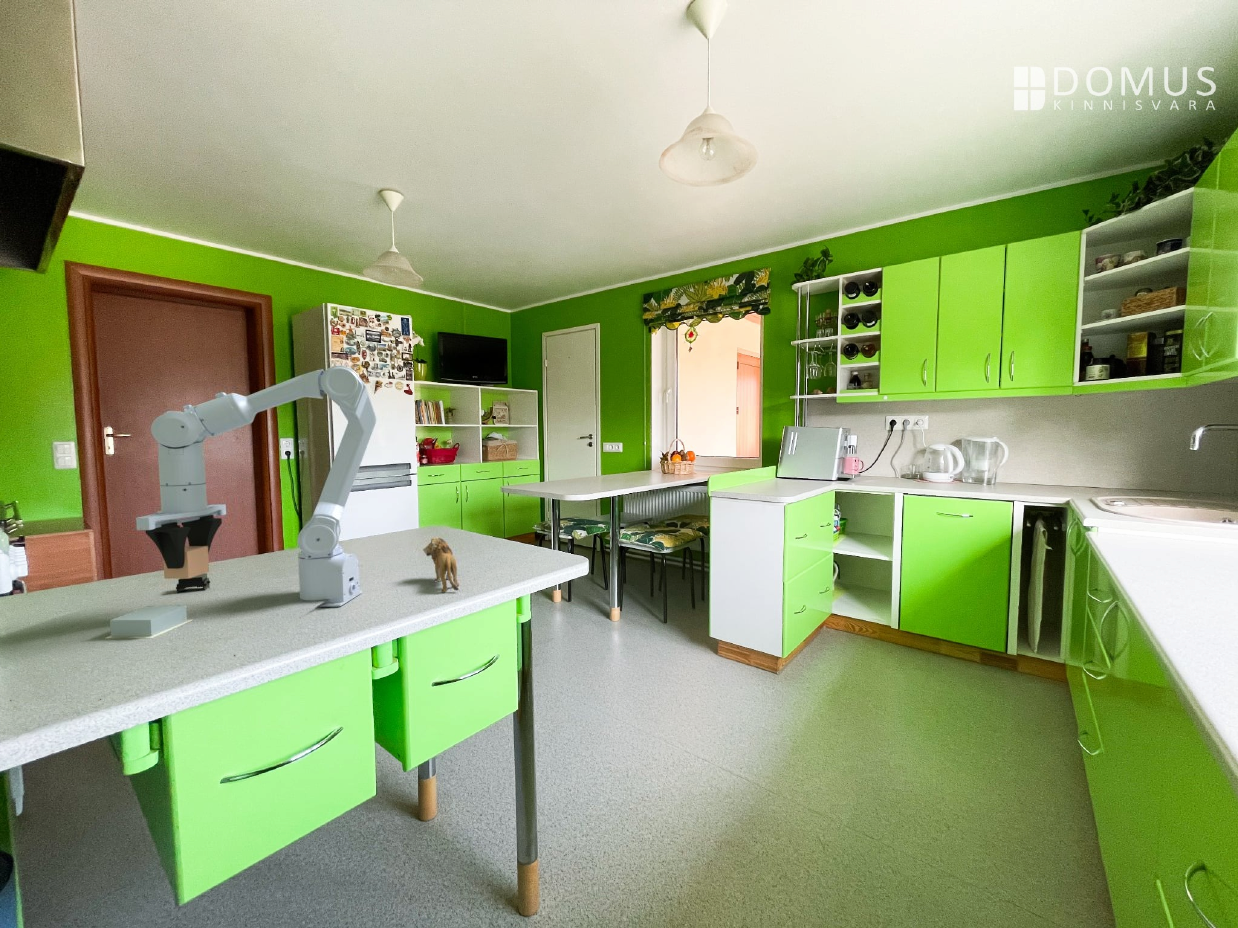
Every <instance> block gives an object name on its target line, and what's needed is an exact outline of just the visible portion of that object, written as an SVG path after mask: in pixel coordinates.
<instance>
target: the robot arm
mask: <svg viewBox="0 0 1238 928" xmlns="http://www.w3.org/2000/svg"><path fill="white" fill-rule="evenodd" d="M368 391H369V390H368V388H367V385H366V383H365V382H364V381H363V380H362V378H361V377H360V376H359V374H358V373H357V372H356V371H355V370H354V369H353V368H351V367H348V366H345V365H333V366H330V367H329V368H327V369H326V370H324V369H322V368H321V369H318V370H317V369H316V370H314V371H311V372H310V371H309V372H307V373H304V374H300V375H298V376H295V377H292V378H291V379H287V380H285V381H282V382H280V383H278V384H274V385H272V386H270V387H267V388H265V389H261V390H259V391H257V392H254V393H252V394H249V395H242V394H239V393H235V392H231V393H228V394H227V393H226V392H223V391H221V392H218V393H216V394H215V395H214V397H215V398H213V399H211V400H208V401H205V402H202V403H199V404H197V405H192V404H187V405H184V406H182V409H183V411H176V410H168V411H165V412H164V413H163V414H161V415H159V416H157V417H156V418H155V419H154V420H153V421H152V423H151V426H150V428H151V429H150V430H151V431H150V433H151V435H152V437H153V438H154V439H155V441H156V442H158V444H157V445H158V447H157V448H158V457H157V459H158V460H157V461H158V474H159V475H158V477H159V490H160V491H159V493H160V507H161V508H160V510H157V511H156V512H155V513H152V514H148V515H144V516H140V517H135V521H136V531H145V534H146V535H147V536H148V537H149V538H150V540H152V542H154V544H155V545H156V547H157V548H158V550H159V552H160V554H161V557H162V558H163V559H164V561H165V564H166V566H167V568H168V569H179V568H183V566H184V559H185V546H186V541H187V540H188V546H208V555H209V553H210V550H211V546H212V543H213V540H214V537H215V535H216V533H217V532H218V530H219V529H220V526H221V525H222V523H223V520H222V517H217V516H226V515H227V506H226V505H227V504H224V503H223V504H215V503H214V504H210V505H208V500H207V481H206V463H205V462H206V461H205V456H204V442H205V441H206V440H207V438H216V437H218V436H220V435H223V434H225V433H229V432H231V431H233V430H237V429H240V428H241V427H245V426H248V425H250V424H252V423H253V422H254V420H255V417H256V415H257V414H258V413H260V412H264V411H266V410H268V409H273V408H275V407H278V406H281V405H284V404H287V403H291V402H294V401H296V400H299V399H303V398H310V399H311V398H313V399H321V400H323V399H324V394H326V395H327V397H328V398H329V399H330V400H331V401H332V402H334V403H335V404H336V405H337V406H338V407H339V409H340V411H341V412H342V414H343V416H344V417H345V419H346V420H347V424H346V427H345V430H344V431H343V435H342V438H341V441H340V443H339V446H338V448H337V451H336V454H335V457H334V459H333V461H332V464H331V467H330V470H329V472H328V475H327V478H326V480H325V483H324V486H323V488H322V490H321V494H320V496H319V499H318V502H317V504H316V506H315V509H314V511H313V513H312V516H311V517H310V518H309V519H308V520H307V521H306V522H305V524H304V525H303V527H302V529H301V530H300V532H299V533H298V535H297V539H296V540H297V546H298V548H299V549H300V551H299V552H298V553H297V557H298V559H297V560H298V562H297V563H298V580H299V581H298V584H299V586H298V587H299V598H300V599H301V600H303V601H320V600H321V601H322V600H325V601H324V602H322V603H320V604H318V605H317V606H316V607H322V608H323V607H328V608H329V607H341V606H344V605H345V604H346V603H348V602H349V601H351V600H353V599H354V598H356V597H357V596H359V595H361V594H363V590H362V589H361V582H360V581H361V580H360V579H361V578H360V576H361V575H360V561H359V558H358V557H357V555H355V554H354V553H346V552H344V547H342V546H341V545H340V543H339V538H340V534H341V525H340V522H341V519H342V515H343V513H344V510H345V507H346V504H347V502H348V499H349V497H350V493H351V491H352V488H353V485H354V483H355V480H356V477H357V475H358V472H359V470H360V467H361V463H362V461H363V458H364V456H365V453H366V451H367V448H368V445H369V443H370V440H371V437H372V435H373V432H374V429H375V426H376V423H377V416H376V412H375V410H374V407H373V404H372V400H371V397H370V395H369V392H368ZM180 524H181V525H180ZM163 559H162V560H163Z"/></svg>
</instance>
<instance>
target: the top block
mask: <svg viewBox="0 0 1238 928" xmlns="http://www.w3.org/2000/svg"><path fill="white" fill-rule="evenodd" d="M162 561H163V576H164V577H163V578H164V579H165V580H167V579H168V580H169V579H171V580H172V579H173V580H175V579H189V578H192V577H195V576H198V575H201V574H204V573H207V574H208V573H209V572H210V560H209V554H208V546H189V545H185V559H184V566H183V568H179V569H168V568H167V566H166V564H165V561H164V559H162Z"/></svg>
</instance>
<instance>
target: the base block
mask: <svg viewBox="0 0 1238 928" xmlns="http://www.w3.org/2000/svg"><path fill="white" fill-rule="evenodd" d="M187 620H188V613H187V605H148V606H145V607H143V608H140V609H136V610H134V611H132V612H129V613H126V614H123V615H121V616H118V617H114V618H112V619H110V620H109V626H110V627H109V629H110V630H109V631H110V636H111V637H136V636H154V635H156V634H158V633H160V632H163V631H165V630H167V629H170V628H172V627H174V626H176V625H179V624H181V623H183V622H186V621H187Z"/></svg>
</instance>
